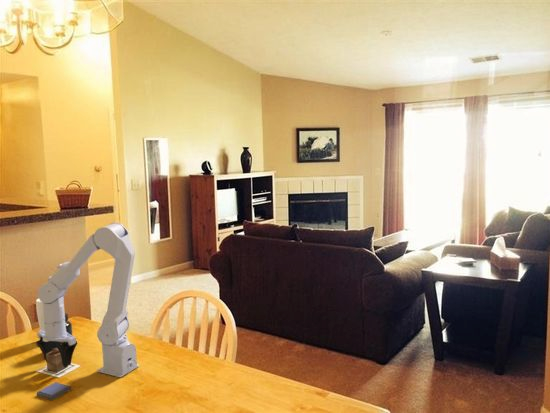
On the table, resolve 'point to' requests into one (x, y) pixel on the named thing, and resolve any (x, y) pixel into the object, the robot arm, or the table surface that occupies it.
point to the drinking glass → (40, 314)
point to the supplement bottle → (68, 330)
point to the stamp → (54, 361)
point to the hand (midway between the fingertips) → (58, 363)
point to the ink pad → (53, 391)
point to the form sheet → (61, 373)
